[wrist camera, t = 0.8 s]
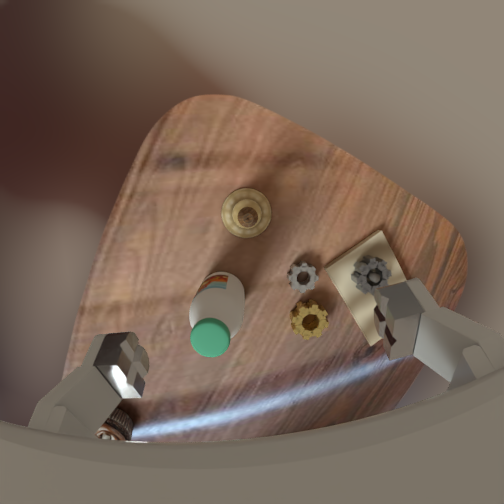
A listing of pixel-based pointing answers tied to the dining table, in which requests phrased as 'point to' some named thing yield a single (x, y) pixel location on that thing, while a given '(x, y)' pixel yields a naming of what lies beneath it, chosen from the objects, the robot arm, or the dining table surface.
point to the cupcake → (116, 427)
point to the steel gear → (363, 270)
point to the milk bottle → (216, 313)
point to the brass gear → (314, 326)
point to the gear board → (352, 296)
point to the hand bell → (246, 213)
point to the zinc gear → (308, 282)
